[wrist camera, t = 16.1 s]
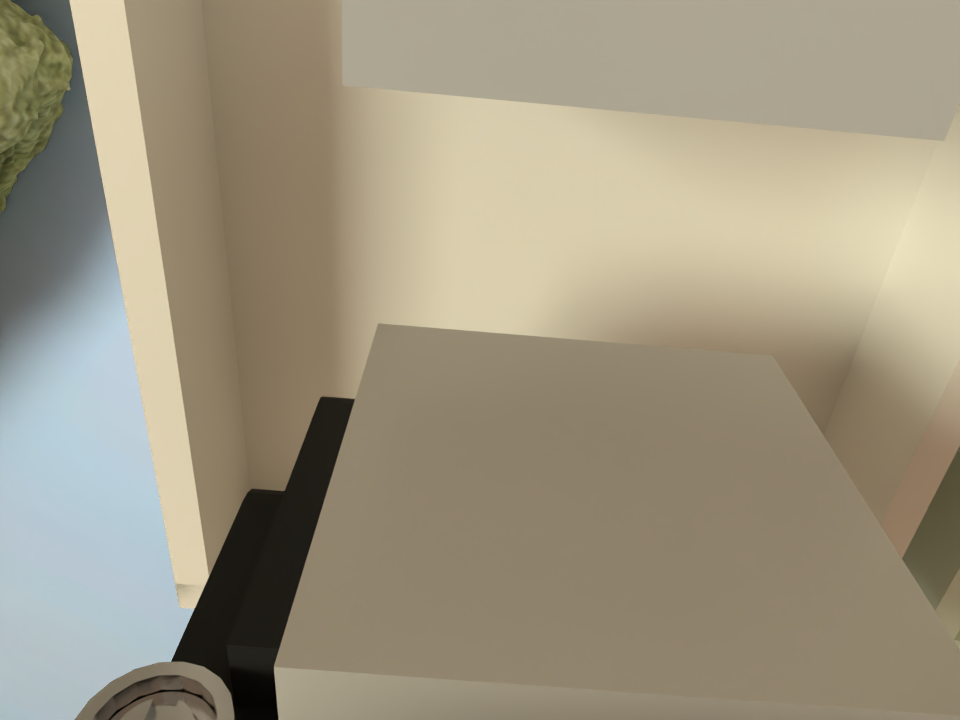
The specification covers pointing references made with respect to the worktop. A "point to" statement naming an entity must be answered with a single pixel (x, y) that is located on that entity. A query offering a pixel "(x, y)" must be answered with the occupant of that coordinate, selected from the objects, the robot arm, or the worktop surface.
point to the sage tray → (940, 551)
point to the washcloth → (28, 89)
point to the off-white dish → (490, 248)
